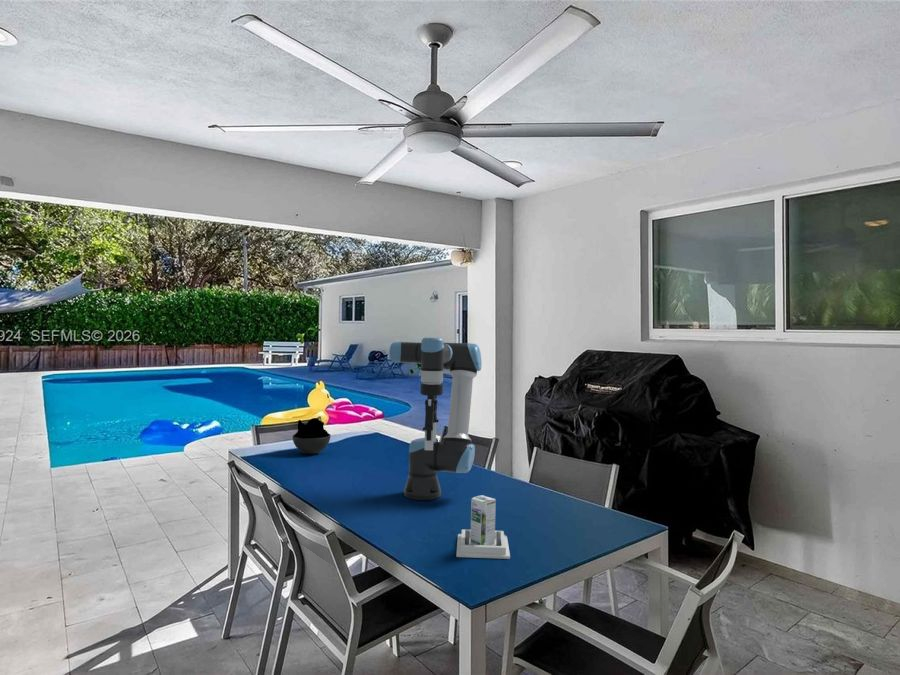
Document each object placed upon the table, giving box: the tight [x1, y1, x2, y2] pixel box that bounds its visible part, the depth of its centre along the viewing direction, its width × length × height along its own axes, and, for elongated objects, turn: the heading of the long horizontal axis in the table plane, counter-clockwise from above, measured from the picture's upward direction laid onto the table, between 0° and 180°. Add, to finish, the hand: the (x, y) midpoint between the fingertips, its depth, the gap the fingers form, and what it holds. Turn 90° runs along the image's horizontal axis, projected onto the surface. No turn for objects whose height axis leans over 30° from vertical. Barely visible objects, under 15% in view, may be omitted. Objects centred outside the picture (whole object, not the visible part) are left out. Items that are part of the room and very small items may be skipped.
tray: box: [456, 529, 511, 560], centre depth 166 cm, size 16×16×5 cm
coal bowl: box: [292, 417, 332, 455], centre depth 287 cm, size 20×20×19 cm
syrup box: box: [470, 494, 497, 546], centre depth 166 cm, size 6×6×14 cm
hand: (430, 445), depth 180 cm, fingers open, 13 cm apart
